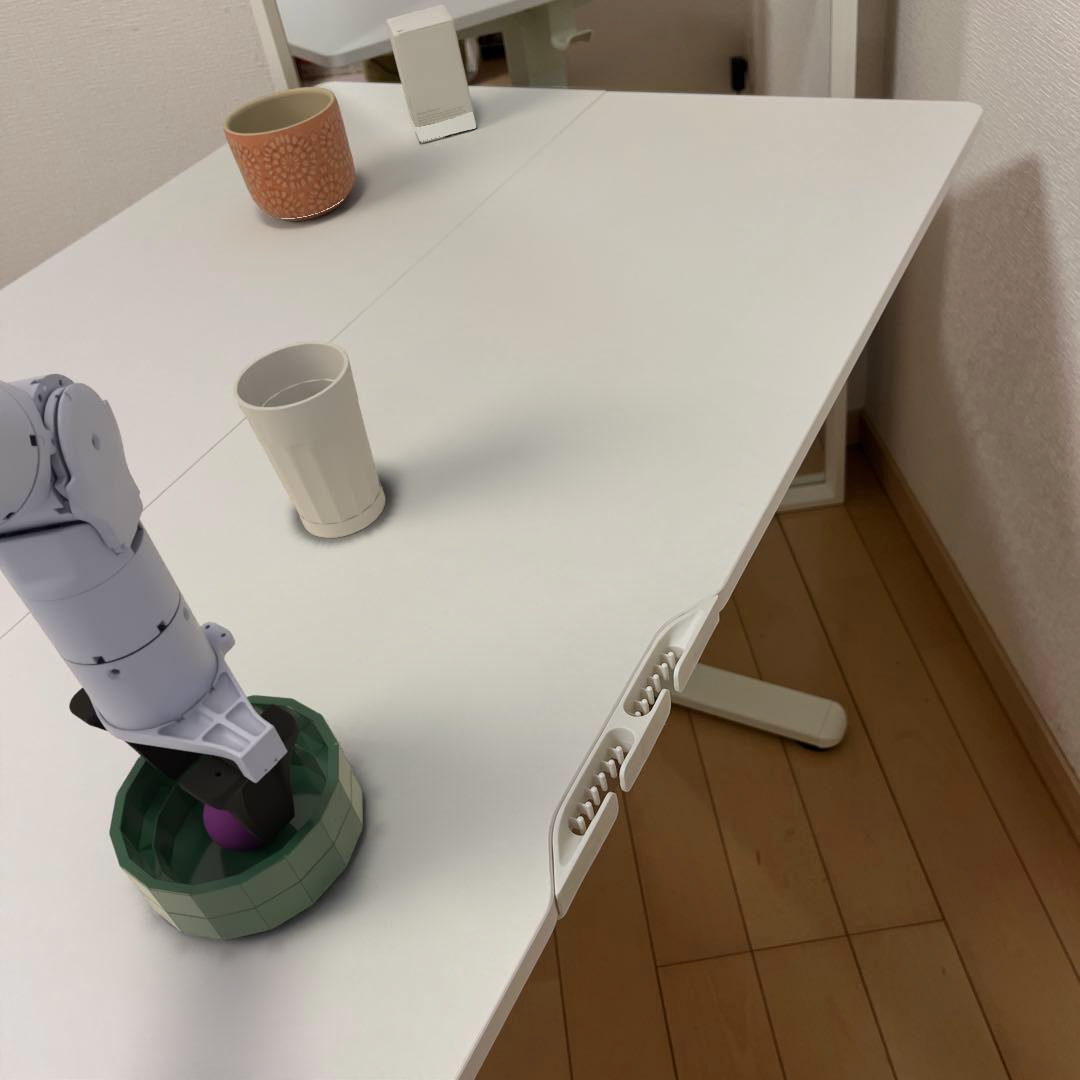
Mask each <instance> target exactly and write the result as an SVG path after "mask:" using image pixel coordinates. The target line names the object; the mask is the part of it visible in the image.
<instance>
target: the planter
mask: <svg viewBox="0 0 1080 1080" xmlns="http://www.w3.org/2000/svg"><path fill="white" fill-rule="evenodd" d="M222 128H223V134H224V136H225V139H226V141H227V144H228V147H229V149H230V151H231V154H232V156H233V158H234V161H235V164H236V165H237V167H238V170H239V172H240V174H241V177H242V179H243V181H244V184H245V186H246V189H247V191H248V193H249V195H250V197H251V199H252V201H253V202H254V203H255V205H256V206H257V207H258V208H259V209H260V210H261V211H263V212H264V214H267V215H269V216H271V217H272V218H276V217H278V218H276V219H279V220H281V221H286V222H287V221H288V222H302V221H308V220H313V219H316V218H319V217H322V216H325V215H326V214H329V213H331V212H332V211H334V210H336V209H337V208H338V207H339V206H340V205H341V204H342V203H344V201H346V199H347V197H348V196H349V194H350V193H351V191H352V189H353V187H354V183H355V179H356V178H355V177H356V169H355V163H354V157H353V154H352V150H351V146H350V142H349V138H348V135H347V130H346V126H345V122H344V119H343V115H342V111H341V108H340V104H339V102H338V99H337V97H336V95H335V93H334V92H333V91H332V90H330V89H328V88H325V87H319V86H305V87H304V86H303V87H295V88H289V89H284V90H280V91H276V92H272V93H269V94H265V95H263V96H260V97H258V98H255V99H253V100H251V101H249V102H247V103H245V104H243V105H241V106H239V107H237V108H236V109H234V111H232V112H231V113H229V115H228V116H227V117H225V119H224V121H223V124H222ZM349 192H350V193H349ZM347 195H348V196H347ZM346 196H347V197H346ZM345 197H346V198H345ZM344 198H345V199H344ZM342 199H344V200H343V201H341V200H342ZM340 201H341V202H340ZM338 202H340V203H339V204H337V203H338ZM335 204H337V205H335ZM333 205H335V206H334V207H332V206H333ZM330 207H332V208H330ZM327 208H330V209H328V210H326V209H327ZM323 210H325V211H323ZM321 211H323V212H321ZM319 212H320V213H319ZM315 213H318V214H315ZM311 214H314V215H311ZM308 215H311V216H308ZM303 216H307V217H303ZM297 217H302V218H297ZM281 218H295V219H281Z"/></svg>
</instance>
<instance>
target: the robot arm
mask: <svg viewBox="0 0 1080 1080" xmlns="http://www.w3.org/2000/svg"><path fill="white" fill-rule="evenodd" d="M140 495H141V491H140V489H139V487H138V486H137V483H136V482H135V480H134V478H133V476H132V474H131V471H130V469H129V466H128V463H127V459H126V455H125V447H124V444H123V439H122V435H121V431H120V428H119V424H118V421H117V418H116V416H115V413H114V411H113V409H112V407H111V405H110V402H109V401H108V399H103V398H101V396H100V395H99V394H98V393H97V392H96V391H95V390H94V389H93V388H92V387H91V386H90V385H87V384H86V383H82V382H75V381H73V380H72V379H71V378H70V377H67V376H65V375H64V374H59V373H50V374H45V375H39V376H36V377H29V378H25V379H20V380H15V381H9V382H7V381H4V380H0V572H1V574H3V576H4V577H5V579H6V580H7V582H8V583H9V585H10V586H11V587H12V589H13V590H14V592H15V593H16V595H17V596H18V598H19V599H20V600H21V602H22V603H23V604H24V606H25V608H26V609H27V610H28V611H29V613H30V614H31V616H32V617H33V619H34V620H35V621H36V623H37V625H38V626H39V628H40V629H41V631H43V633H44V635H45V636H46V637H47V638H48V640H49V641H50V644H52V646H53V647H54V649H55V650H56V651H57V653H58V654H59V656H60V658H61V659H62V660H63V662H64V663H65V664H66V667H67V668H68V669H69V670H70V671H71V673H72V675H73V676H74V678H75V679H76V680H77V681H78V683H79V685H80V686H81V688H80V689H79V690H77V692H76V693H75V694H74V695H73V696H72V697H71V699H70V701H69V704H68V705H69V706H68V708H69V711H70V712H71V714H72V715H74V717H76V718H77V719H80V720H81V721H82V722H84V723H85V724H87V725H88V726H91V727H94V728H97V729H100V730H102V731H105V732H108V733H109V734H110V735H111V736H113V737H114V738H116V739H118V740H120V741H123V742H124V743H126V744H127V745H128V746H129V747H130V748H131V749H133V750H134V751H135V752H136V753H137V754H138V755H139V756H142V757H143V758H144V759H145V760H146V761H147V762H149V763H150V764H151V765H152V766H153V767H155V768H156V769H157V770H158V771H160V772H161V773H163V774H164V775H166V776H167V777H169V778H170V779H172V780H174V781H175V780H176V779H177V778H178V777H180V776H181V775H182V774H183V773H184V772H185V771H186V770H187V769H188V768H189V767H190V766H191V765H192V764H193V763H194V762H195V761H196V760H197V759H198V758H199V757H201V756H202V755H203V754H208V755H207V756H206V757H205V758H204V759H203V760H202V761H201V762H200V763H199V764H198V765H197V766H196V767H195V768H194V769H192V770H191V771H190V772H189V773H188V774H187V775H186V776H185V777H184V778H183V779H182V780H181V781H180V782H179V785H180V787H181V788H182V789H183V790H185V791H186V792H188V793H189V794H191V795H192V796H194V797H195V798H197V799H198V800H199V801H201V802H202V803H204V804H206V805H208V806H210V807H213V808H215V809H218V810H223V811H228V812H229V813H230V814H231V815H232V816H233V817H234V818H235V819H236V820H237V821H238V822H239V823H240V824H241V825H242V826H243V827H244V828H245V829H246V830H247V831H248V832H250V833H251V834H252V835H254V836H255V837H257V838H258V839H260V840H261V841H263V842H264V843H266V844H267V843H270V842H271V841H272V840H273V839H274V838H275V837H276V836H277V835H278V833H279V832H280V831H281V830H282V829H283V828H284V827H285V826H286V825H287V824H288V823H289V822H290V821H291V820H292V819H293V818H294V817H295V810H294V801H293V794H292V788H291V779H290V764H291V758H292V753H293V749H294V746H295V742H296V739H297V737H298V734H299V728H298V725H297V723H296V721H295V719H294V717H293V716H292V715H291V714H290V713H288V712H287V711H285V710H283V709H281V708H280V707H278V706H276V705H274V704H273V703H272V704H271V705H270V706H269V707H268V708H267V709H266V710H265V711H264V712H263V713H262V714H261V715H259V714H258V713H257V712H256V711H255V709H254V708H253V706H252V705H251V703H250V702H249V700H248V698H247V695H246V693H245V692H244V690H243V688H242V686H241V685H240V683H239V681H238V680H237V678H236V676H235V675H234V674H233V672H232V670H231V668H230V666H229V665H228V663H227V661H226V660H225V657H226V655H227V653H229V651H231V650H232V649H233V648H234V646H235V645H236V638H234V635H233V634H232V632H231V631H230V630H229V629H227V628H226V627H224V626H223V625H220V624H218V623H216V622H213V621H208V622H205V623H203V624H202V625H200V624H199V622H198V620H197V618H196V617H195V616H196V615H194V613H193V611H192V609H191V607H190V605H189V604H188V602H187V601H186V599H185V596H184V595H183V594H182V592H181V590H180V588H179V586H178V584H177V582H176V581H175V579H174V576H173V575H172V573H171V572H170V570H169V568H168V566H167V564H166V563H165V561H164V559H163V558H162V556H161V554H160V552H159V550H158V548H157V547H156V545H155V543H154V542H153V539H152V538H151V536H150V534H149V532H148V530H147V529H146V526H144V523H143V522H142V520H141V516H142V513H143V510H144V503H143V501H142V499H141V496H140Z"/></svg>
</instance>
